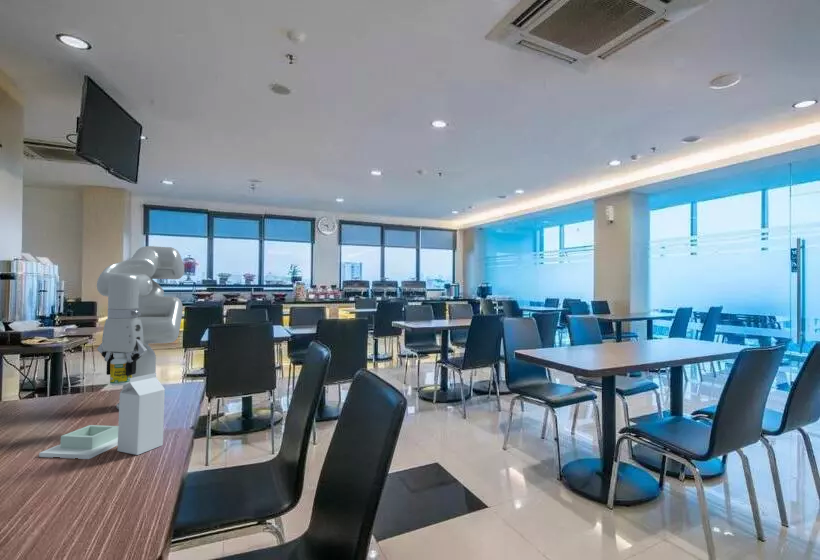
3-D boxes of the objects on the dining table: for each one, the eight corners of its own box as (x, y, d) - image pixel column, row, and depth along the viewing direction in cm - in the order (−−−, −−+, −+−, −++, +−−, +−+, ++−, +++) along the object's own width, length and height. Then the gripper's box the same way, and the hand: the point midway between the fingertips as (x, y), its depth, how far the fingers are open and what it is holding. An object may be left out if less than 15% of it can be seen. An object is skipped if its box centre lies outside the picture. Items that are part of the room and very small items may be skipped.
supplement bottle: (129, 380, 123) (130, 349, 124) (133, 384, 120) (134, 352, 120) (108, 383, 120) (109, 351, 120) (111, 387, 116) (112, 354, 116)
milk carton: (163, 445, 106) (165, 374, 106) (136, 455, 99) (139, 379, 99) (143, 442, 108) (146, 372, 108) (117, 451, 101) (120, 377, 102)
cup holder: (91, 435, 112) (92, 420, 112) (135, 436, 111) (135, 422, 112) (39, 456, 97) (39, 440, 97) (88, 459, 96) (89, 442, 97)
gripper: (158, 314, 123) (156, 372, 123) (106, 312, 124) (104, 370, 124) (140, 316, 116) (138, 378, 115) (85, 314, 117) (83, 376, 117)
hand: (121, 373), depth 120 cm, fingers closed on supplement bottle, 5 cm apart
